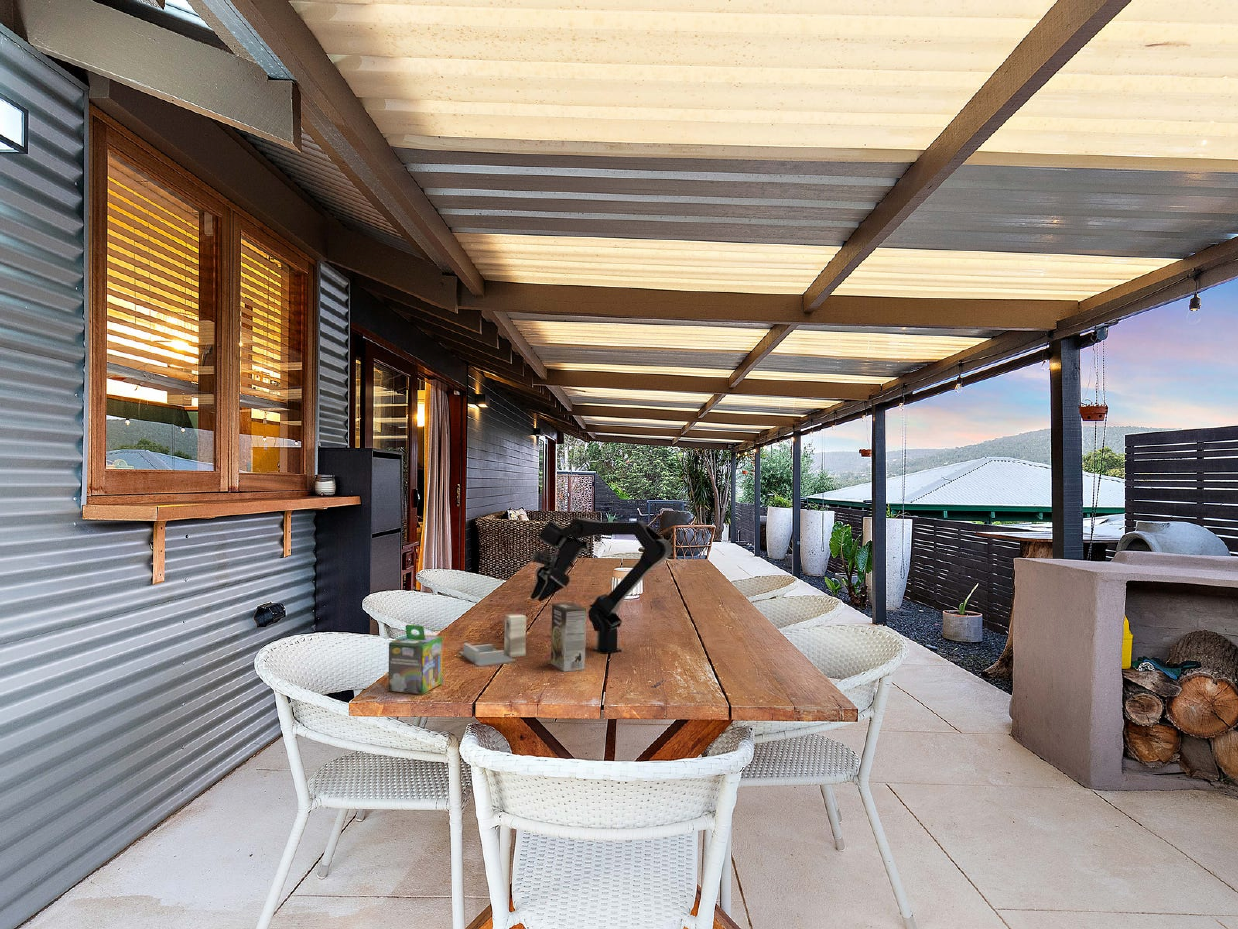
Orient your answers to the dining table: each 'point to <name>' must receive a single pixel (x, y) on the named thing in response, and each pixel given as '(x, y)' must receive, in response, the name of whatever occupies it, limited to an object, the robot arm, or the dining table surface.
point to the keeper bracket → (485, 655)
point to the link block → (515, 635)
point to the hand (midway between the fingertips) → (535, 599)
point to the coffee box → (568, 636)
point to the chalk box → (415, 662)
